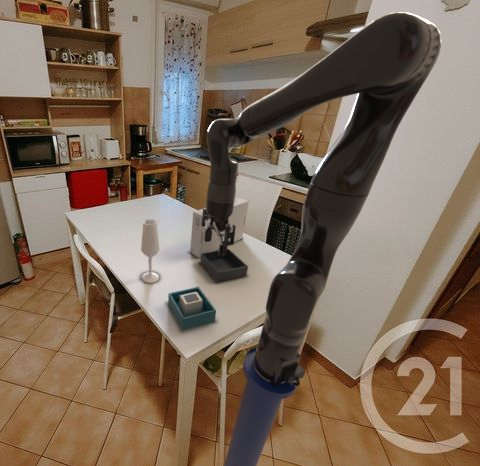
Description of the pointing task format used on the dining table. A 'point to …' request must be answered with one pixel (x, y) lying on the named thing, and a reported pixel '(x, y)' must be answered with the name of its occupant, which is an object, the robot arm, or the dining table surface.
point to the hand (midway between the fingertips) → (214, 247)
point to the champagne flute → (150, 247)
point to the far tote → (223, 265)
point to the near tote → (194, 320)
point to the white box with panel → (190, 304)
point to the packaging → (198, 231)
